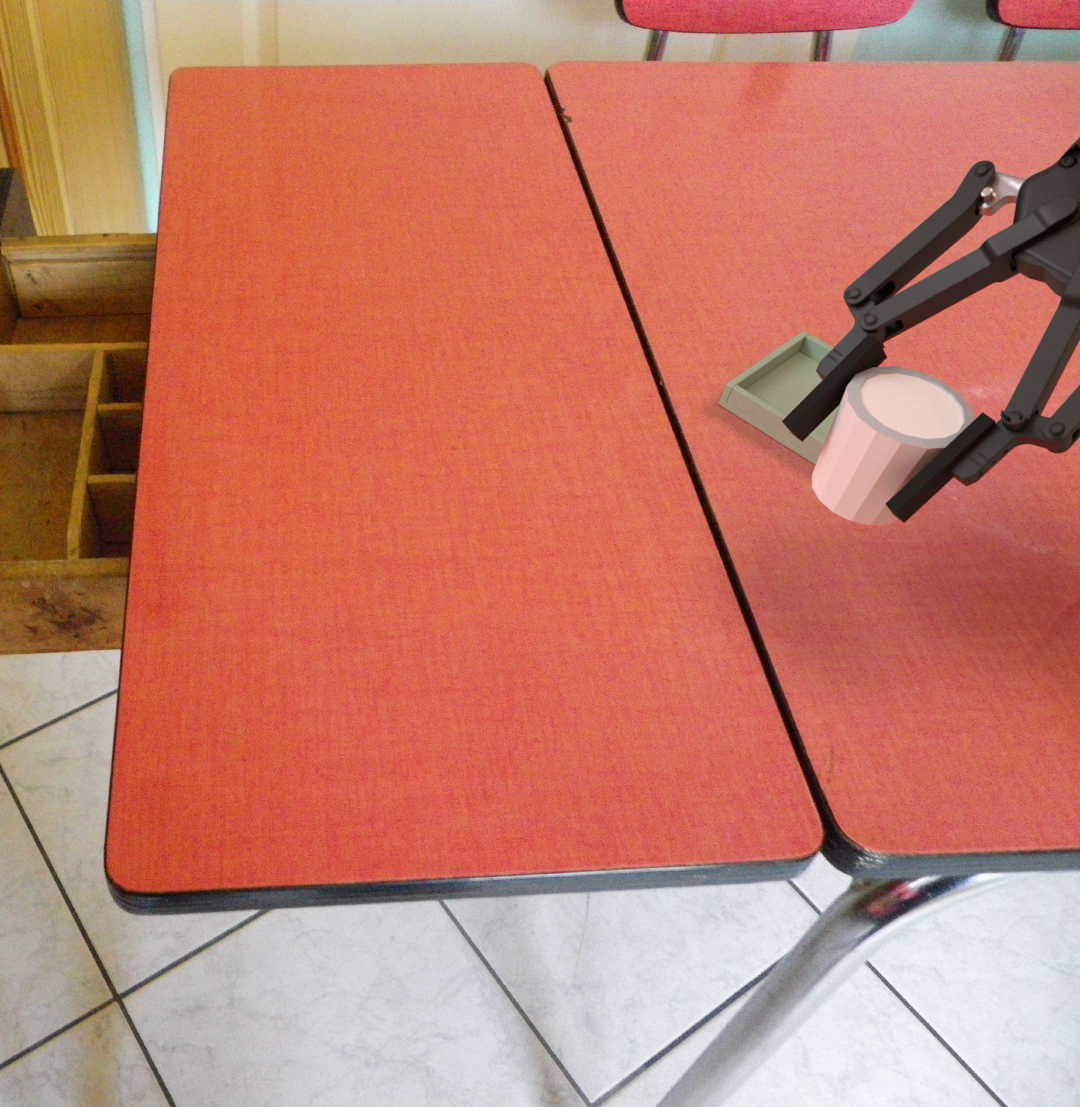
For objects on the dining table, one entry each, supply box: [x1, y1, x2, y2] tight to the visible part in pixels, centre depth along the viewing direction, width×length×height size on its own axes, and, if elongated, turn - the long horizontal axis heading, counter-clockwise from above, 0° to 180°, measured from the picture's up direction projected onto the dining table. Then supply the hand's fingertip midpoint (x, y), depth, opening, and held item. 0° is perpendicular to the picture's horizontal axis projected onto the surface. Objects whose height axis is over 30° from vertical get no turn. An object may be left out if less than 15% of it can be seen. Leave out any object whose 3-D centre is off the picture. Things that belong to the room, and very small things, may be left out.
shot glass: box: [811, 365, 976, 526], centre depth 59 cm, size 7×7×7 cm
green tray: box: [718, 330, 839, 466], centre depth 82 cm, size 13×11×2 cm
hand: (842, 470), depth 58 cm, fingers closed on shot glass, 7 cm apart
